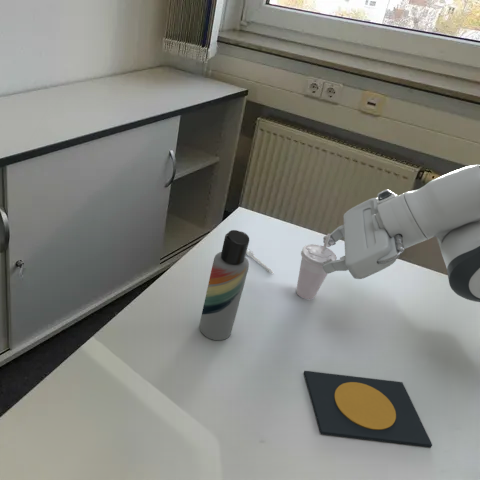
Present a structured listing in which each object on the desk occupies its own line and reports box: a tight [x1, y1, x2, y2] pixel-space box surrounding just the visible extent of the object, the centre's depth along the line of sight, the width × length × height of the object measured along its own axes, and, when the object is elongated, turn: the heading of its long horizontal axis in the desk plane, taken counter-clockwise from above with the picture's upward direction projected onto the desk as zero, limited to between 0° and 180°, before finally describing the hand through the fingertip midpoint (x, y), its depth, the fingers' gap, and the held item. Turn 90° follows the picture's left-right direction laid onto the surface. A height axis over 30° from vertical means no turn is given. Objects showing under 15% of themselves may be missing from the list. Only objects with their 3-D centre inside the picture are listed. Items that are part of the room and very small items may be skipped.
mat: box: [303, 370, 433, 448], centre depth 83 cm, size 16×12×1 cm
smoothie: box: [295, 232, 338, 300], centre depth 103 cm, size 6×6×14 cm
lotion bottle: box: [199, 229, 250, 341], centre depth 90 cm, size 6×6×20 cm
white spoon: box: [246, 248, 275, 275], centre depth 115 cm, size 14×4×2 cm, turn 30°
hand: (324, 255), depth 102 cm, fingers open, 8 cm apart
